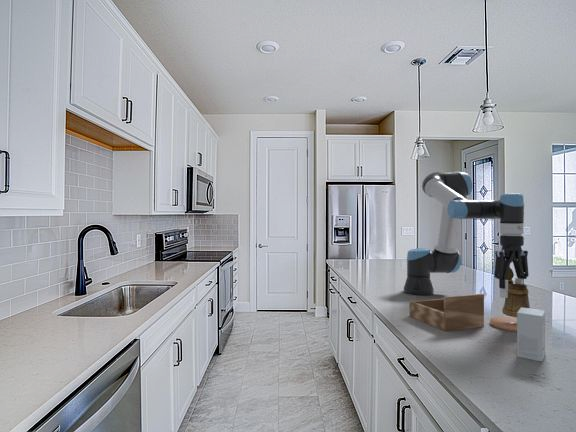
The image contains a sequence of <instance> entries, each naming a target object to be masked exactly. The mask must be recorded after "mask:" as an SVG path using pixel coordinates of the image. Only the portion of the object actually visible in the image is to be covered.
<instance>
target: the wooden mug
mask: <svg viewBox="0 0 576 432" xmlns="http://www.w3.org/2000/svg"><path fill="white" fill-rule="evenodd" d="M514 276H515V275H514V271H513V269H512V268H511V267H509V270H508V274H507V278H506V280H508V298H504V304H503V307H502V313H503V315H505V316H506V317H511V318H517V312H518V311H519V309H520V308H521V307H522V308H530V309H531V305H530V299H529V289H528V287H527V285H526V284H525V283H524V284H515V283H514V281H513V278H514Z"/></svg>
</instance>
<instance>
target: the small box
mask: <svg viewBox="0 0 576 432" xmlns="http://www.w3.org/2000/svg"><path fill="white" fill-rule="evenodd" d="M516 318H517V332H516V356H517V357H518V358H523V359H527V360H532V361H537V362H543V361H544V359H545V356H546V311H545V310H543V309H536V308H531V307H530V308H522V307H521V308H520V309H519V311H518V312H517V317H516Z"/></svg>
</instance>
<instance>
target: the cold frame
mask: <svg viewBox="0 0 576 432" xmlns="http://www.w3.org/2000/svg"><path fill="white" fill-rule="evenodd" d="M409 317H411V318H413V319H416V320H417V321H421V322H423V323H426V324H428V325H430V326H433V327H435V328H438V329H439V330H441V331H444V332H449V331H450V332H451V331H458V330H467V329H474V328H482V327H484V326H485V294H484V293H474V294H473V293H472V294H459V295H450V296H449V295H448V296H443V297H442V298H434V299H421V300H413V301H411V300H410V301H409Z"/></svg>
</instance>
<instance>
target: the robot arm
mask: <svg viewBox="0 0 576 432" xmlns="http://www.w3.org/2000/svg"><path fill="white" fill-rule="evenodd" d="M421 188H422V191H423V193H424V194H425V195H426V196H428V197H430V198H434V199H436V200H437V201H438V202H439V203H440V204H442V210H441V217H440V226H439V234H438V238H437V244H435V245H434V248H433V250H431V249H430V248H429V247H422V248H414V249H412V248H411V249H410V250H408V251H407V255H406V265H407V266H406V278H405V279H406V280H405V283H404V286H403V292H404V293H406V294H409V295H417V296H430V295H433V294H434V292H435V291H434V286H433V283H432V279H431V274H435V273H437V274H441V273H442V274H445V273H446V274H450V273H456V272H458V270H460V268H461V264H462V255H461V253H460V252H459V249H458V247H456V244H457V236H458V230H459V223H460V220H473V219H474V220H476V219H477V220H479V219H480V220H499V221H500V222H499V234H501V235H500V236H499V245H501V250H496V251H495V252H494V255H495V263H494V275H493V277H494V278H496V279H498V281H499V283H498V287H499V297H501V298H504V299H505V298H508V280H506V278H507V274H508V270H509V267H510V266H511V263H513V267H514V271H515V276H516V277H514V284H524V285H525V280H527V279H528V277H529V274H530V273H529V262H528V254H529V251H528V250H524V249H522V247H523V246H524V244H525V243H524V242H525V241H524V239H525V238H524V223H525V222H524V219H525V218H524V217H525V203H524V194H522V193H501V195H500V196H499V197H500V198H499V199H485V200H484V199H480V200H479V199H468V198H467V196H470V195H471V194H472V192H473V181H472V177H471V175H469V173H466V172H464V171H463V172H462V171H435V172H432V173H430V174H428V175H427V176H425V178H424V179H423V181H422V184H421ZM510 268H511V267H510Z"/></svg>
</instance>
